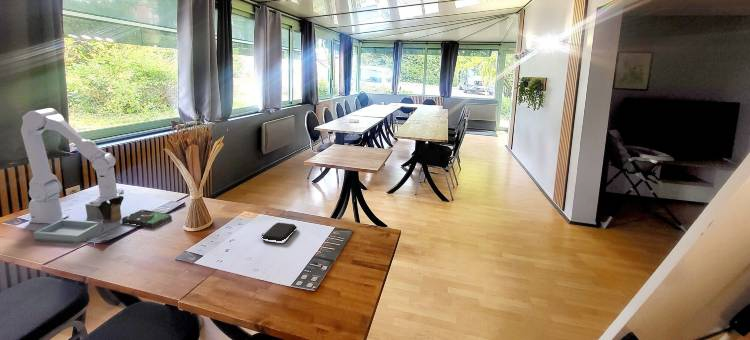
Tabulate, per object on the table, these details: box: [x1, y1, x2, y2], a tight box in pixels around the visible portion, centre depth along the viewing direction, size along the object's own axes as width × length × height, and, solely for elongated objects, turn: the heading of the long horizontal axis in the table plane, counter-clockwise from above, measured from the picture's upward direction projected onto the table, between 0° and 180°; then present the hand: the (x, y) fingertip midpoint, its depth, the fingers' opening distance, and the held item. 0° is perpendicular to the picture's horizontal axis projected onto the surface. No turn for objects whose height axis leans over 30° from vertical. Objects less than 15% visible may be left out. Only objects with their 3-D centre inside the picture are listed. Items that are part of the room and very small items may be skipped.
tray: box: [33, 218, 104, 245], centre depth 142 cm, size 16×12×3 cm
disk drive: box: [121, 209, 173, 229], centre depth 157 cm, size 10×3×15 cm
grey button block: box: [84, 200, 102, 220], centre depth 158 cm, size 4×4×6 cm
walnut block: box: [101, 204, 122, 223], centre depth 156 cm, size 4×4×6 cm
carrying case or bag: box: [260, 222, 298, 241], centre depth 151 cm, size 11×3×15 cm
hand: (111, 216), depth 156 cm, fingers closed on walnut block, 4 cm apart
